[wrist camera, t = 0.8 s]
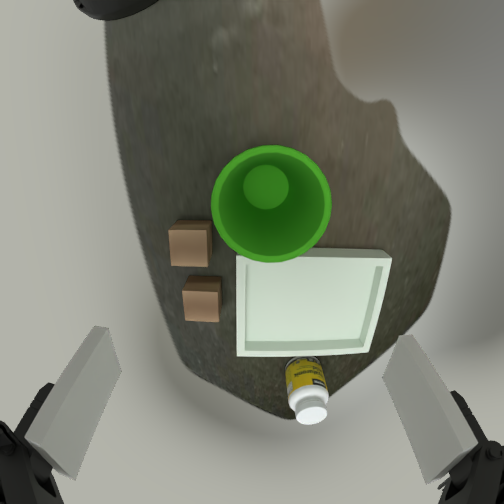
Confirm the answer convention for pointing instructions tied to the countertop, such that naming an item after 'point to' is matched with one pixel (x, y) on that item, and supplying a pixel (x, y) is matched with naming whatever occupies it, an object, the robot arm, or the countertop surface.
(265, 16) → the countertop surface
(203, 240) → the walnut block
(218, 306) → the walnut block
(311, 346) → the tray
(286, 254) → the cup
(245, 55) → the countertop surface
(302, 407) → the supplement bottle
